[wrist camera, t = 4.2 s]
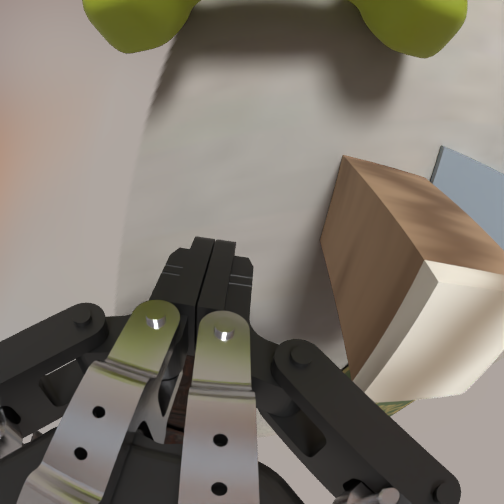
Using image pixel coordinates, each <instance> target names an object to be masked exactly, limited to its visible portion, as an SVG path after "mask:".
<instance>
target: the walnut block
mask: <svg viewBox="0 0 504 504" xmlns="http://www.w3.org/2000/svg"><path fill="white" fill-rule="evenodd" d="M320 242H321V246H322V250H323V254H324V258H325V262H326V265H327V269H328V273H329V277H330V282H331V286H332V290H333V294H334V298H335V303H336V307H337V311H338V316H339V320H340V325H341V330H342V334H343V339H344V344H345V349H346V354H347V359H348V364H349V369H350V375H351V380H352V381H353V382H354V383H355V384H356V385H357V386H358V387H359V388H360V389H361V390H362V391H363V392H364V393H365V394H366V395H367V396H368V397H369V398H370V399H372V400H373V401H374V402H375V403H376V402H395V401H408V400H419V399H428V398H436V397H445V396H452V395H458V394H463V393H465V392H466V390H468V389H469V387H471V386H472V385H473V384H474V383H475V382H476V380H477V379H478V378H479V377H480V376H481V375H482V374H483V373H484V372H485V371H486V370H487V369H488V367H489V366H490V365H491V364H492V363H493V362H494V361H495V360H496V358H497V357H498V356H499V355H500V354H501V352H502V351H503V350H504V250H503V249H502V248H501V247H500V246H499V245H498V244H497V243H496V242H495V241H494V240H493V239H492V238H491V237H490V236H489V235H488V234H487V233H486V232H485V231H484V230H483V229H482V228H481V227H480V226H479V225H478V224H477V223H476V222H475V221H474V220H473V219H472V218H471V217H470V216H469V215H468V214H467V213H466V212H464V211H463V210H462V209H461V208H460V207H459V206H458V205H457V204H456V203H454V202H453V201H452V200H451V199H450V198H449V197H448V196H446V195H445V194H444V193H443V192H442V191H440V190H439V189H438V188H437V187H436V186H434V185H433V184H432V183H431V182H430V181H428V180H427V179H426V178H424V177H421V176H418V175H415V174H412V173H408V172H405V171H402V170H398V169H395V168H391V167H388V166H384V165H380V164H377V163H373V162H369V161H365V160H361V159H357V158H353V157H349V156H345V155H343V157H342V161H341V165H340V169H339V173H338V176H337V180H336V184H335V188H334V192H333V195H332V199H331V203H330V206H329V210H328V214H327V217H326V221H325V224H324V228H323V231H322V235H321V238H320Z"/></svg>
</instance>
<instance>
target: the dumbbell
mask: <svg viewBox="0 0 504 504" xmlns="http://www.w3.org/2000/svg"><path fill="white" fill-rule="evenodd" d="M82 1H83V7H84V11H85V13H86V15H87V17H88V19H89V20H90V22H91V23H92V24H93V25H94V27H95V28H96V29H97V30H98V31H99V32H100V34H101V35H102V36H103V37H104V38H105V39H106V40H107V41H108V42H109V44H111V45H112V46H113V47H114V48H115V49H117V50H118V51H120V52H123V53H135V52H140V51H145V50H149V49H153V48H156V47H159V46H162V45H163V44H165V43H167V42H168V41H169V40H171V39H172V38H173V37H174V36H175V35H176V34H177V33H178V32H179V31H180V29H181V28H182V27H183V25H184V24H185V22H186V21H187V19H188V17H189V14H190V12H191V10H192V8H193V7H194V6H195V5H196V4H197V3H198V2H199V1H201V0H82ZM348 1H350V2H351V3H353V4H354V5H355V6H356V7H357V8H358V9H359V11H360V13H361V16H362V18H363V20H364V22H365V23H366V25H367V26H368V28H369V29H370V31H371V32H372V33H373V34H374V35H375V36H376V37H377V38H378V39H379V40H380V41H381V42H382V43H383V44H385V45H386V46H388V47H389V48H391V49H392V50H394V51H397V52H399V53H403V54H406V55H410V56H415V57H419V58H428V57H431V56H434V55H435V54H436V53H438V52H439V51H440V50H441V49H442V48H443V47H444V46H445V45H446V44H447V43H448V42H449V41H450V40H451V39H452V38H453V36H454V35H455V34H456V33H457V32H458V31H459V29H460V28H461V26H462V25H463V23H464V21H465V18H466V14H467V0H348Z"/></svg>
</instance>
